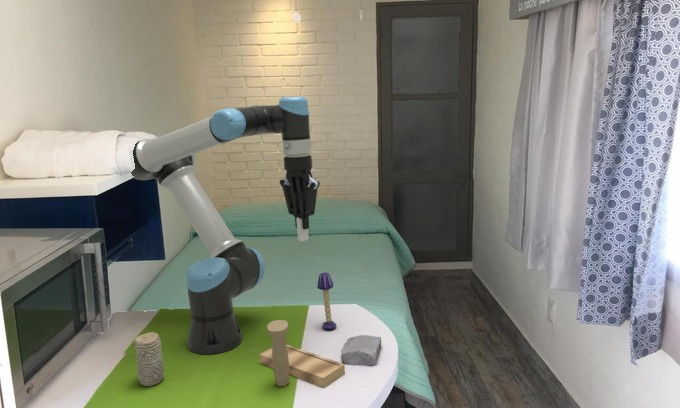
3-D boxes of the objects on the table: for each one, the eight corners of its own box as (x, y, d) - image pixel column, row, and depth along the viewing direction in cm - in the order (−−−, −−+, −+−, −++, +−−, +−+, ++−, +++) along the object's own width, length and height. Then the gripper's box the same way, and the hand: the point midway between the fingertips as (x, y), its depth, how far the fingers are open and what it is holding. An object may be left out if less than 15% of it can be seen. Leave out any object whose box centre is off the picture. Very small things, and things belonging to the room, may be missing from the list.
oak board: (259, 363, 146) (259, 353, 145) (281, 351, 152) (280, 342, 151) (323, 387, 132) (323, 377, 132) (344, 373, 138) (344, 363, 138)
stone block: (341, 372, 143) (379, 366, 141) (336, 354, 142) (374, 348, 140) (349, 352, 154) (384, 346, 152) (345, 336, 154) (380, 330, 151)
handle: (271, 391, 132) (265, 331, 129) (273, 377, 138) (269, 320, 135) (291, 390, 132) (286, 330, 129) (293, 376, 138) (289, 319, 135)
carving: (142, 391, 135) (136, 345, 132) (135, 379, 141) (129, 334, 139) (169, 383, 138) (163, 338, 136) (161, 371, 144) (155, 327, 142)
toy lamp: (321, 332, 162) (318, 277, 159) (318, 325, 167) (315, 272, 163) (338, 329, 163) (334, 275, 160) (334, 323, 168) (331, 270, 165)
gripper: (270, 156, 151) (276, 240, 156) (305, 157, 143) (311, 246, 148) (289, 152, 157) (295, 234, 162) (324, 154, 149) (330, 239, 154)
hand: (303, 240), depth 155 cm, fingers closed
